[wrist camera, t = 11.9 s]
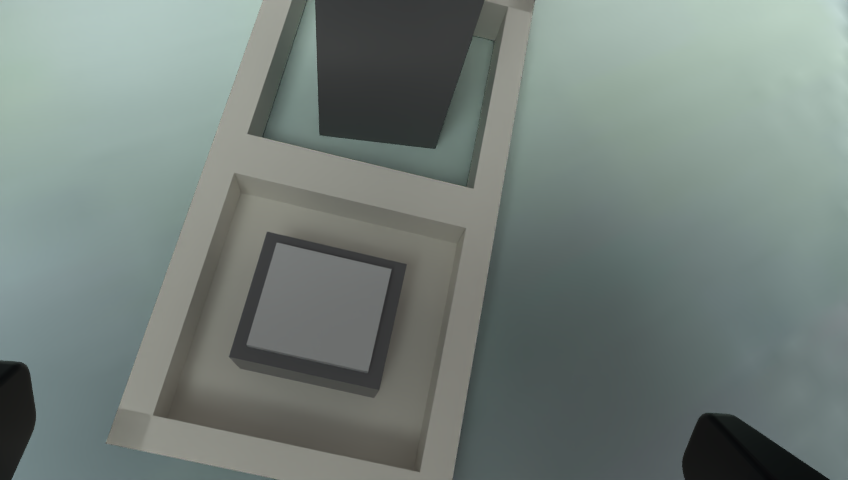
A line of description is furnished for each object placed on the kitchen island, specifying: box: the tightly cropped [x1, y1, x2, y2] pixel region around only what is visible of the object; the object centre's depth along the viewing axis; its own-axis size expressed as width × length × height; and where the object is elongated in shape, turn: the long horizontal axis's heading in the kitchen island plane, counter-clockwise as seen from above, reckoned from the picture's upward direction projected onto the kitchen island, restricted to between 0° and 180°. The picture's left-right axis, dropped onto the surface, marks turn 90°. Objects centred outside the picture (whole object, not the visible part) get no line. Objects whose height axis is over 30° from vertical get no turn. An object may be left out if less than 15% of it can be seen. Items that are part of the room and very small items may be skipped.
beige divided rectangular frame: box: [106, 0, 535, 480], centre depth 23 cm, size 20×10×3 cm, turn 169°
